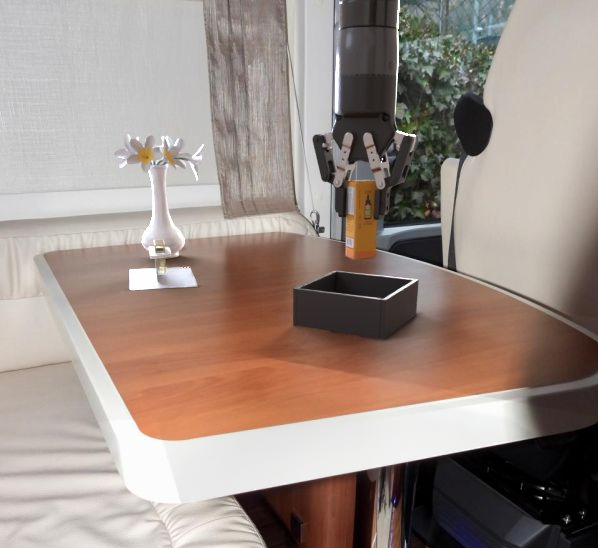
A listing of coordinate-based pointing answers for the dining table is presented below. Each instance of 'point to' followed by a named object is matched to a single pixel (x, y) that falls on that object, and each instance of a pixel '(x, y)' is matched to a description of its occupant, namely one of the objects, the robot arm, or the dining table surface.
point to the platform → (161, 273)
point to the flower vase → (159, 184)
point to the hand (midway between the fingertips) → (361, 217)
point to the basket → (355, 303)
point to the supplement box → (360, 219)
